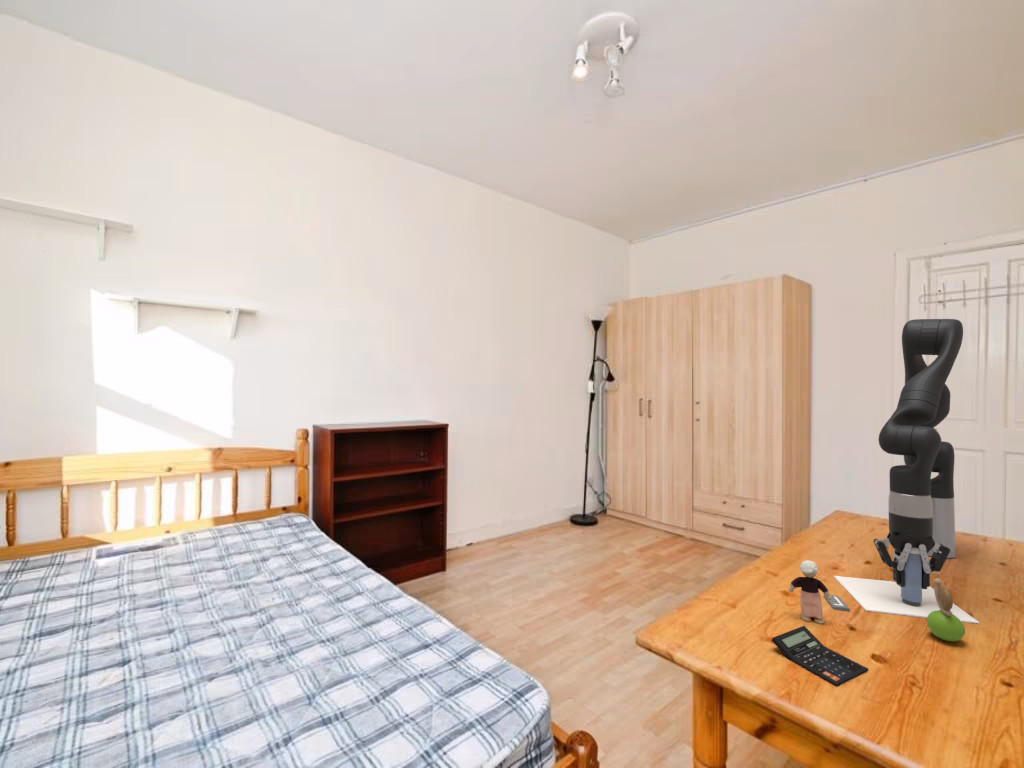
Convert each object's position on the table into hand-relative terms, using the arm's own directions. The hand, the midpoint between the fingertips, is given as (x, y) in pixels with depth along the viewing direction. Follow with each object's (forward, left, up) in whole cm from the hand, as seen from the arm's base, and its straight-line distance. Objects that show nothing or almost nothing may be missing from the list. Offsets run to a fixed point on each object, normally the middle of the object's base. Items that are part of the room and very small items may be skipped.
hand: (911, 586), depth 100 cm
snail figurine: (+14, -1, -4) cm, 15 cm away
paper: (-3, -1, -4) cm, 5 cm away
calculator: (+29, -27, -5) cm, 40 cm away
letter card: (+4, -16, -4) cm, 17 cm away
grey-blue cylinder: (0, 0, -4) cm, 4 cm away
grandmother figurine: (+13, -24, -4) cm, 28 cm away
